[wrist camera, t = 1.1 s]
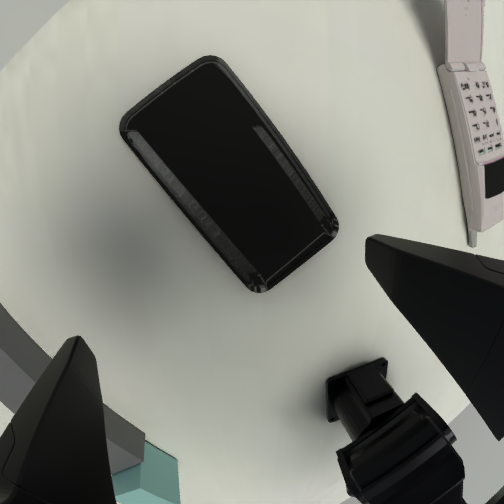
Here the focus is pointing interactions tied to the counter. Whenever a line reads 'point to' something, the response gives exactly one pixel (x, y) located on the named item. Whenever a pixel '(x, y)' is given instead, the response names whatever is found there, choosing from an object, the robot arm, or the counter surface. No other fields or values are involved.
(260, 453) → the counter surface
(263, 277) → the phone
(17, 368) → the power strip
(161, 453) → the block
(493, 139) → the mobile phone
